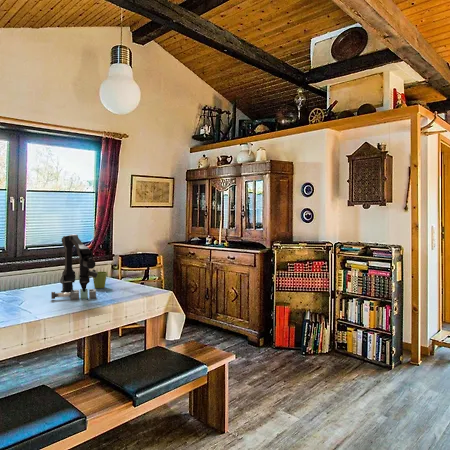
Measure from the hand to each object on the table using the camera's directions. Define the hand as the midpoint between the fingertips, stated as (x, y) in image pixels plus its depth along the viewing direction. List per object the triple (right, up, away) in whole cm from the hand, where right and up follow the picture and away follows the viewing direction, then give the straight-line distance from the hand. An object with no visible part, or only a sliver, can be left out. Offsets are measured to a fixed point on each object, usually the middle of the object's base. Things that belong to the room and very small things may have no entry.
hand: (84, 290), depth 256 cm
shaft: (-11, -4, -4) cm, 12 cm away
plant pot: (-1, -4, +34) cm, 34 cm away
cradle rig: (-1, -5, 0) cm, 5 cm away
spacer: (0, -5, 0) cm, 5 cm away
